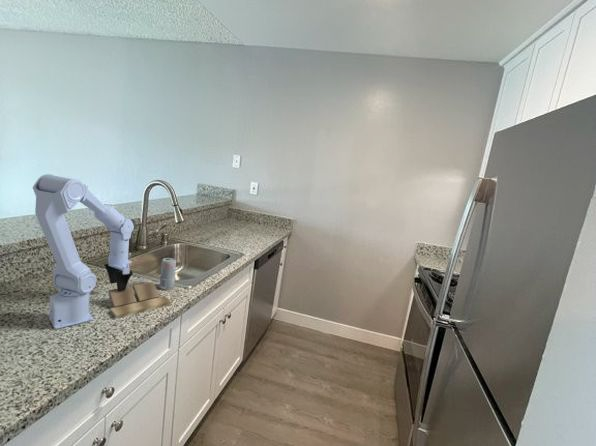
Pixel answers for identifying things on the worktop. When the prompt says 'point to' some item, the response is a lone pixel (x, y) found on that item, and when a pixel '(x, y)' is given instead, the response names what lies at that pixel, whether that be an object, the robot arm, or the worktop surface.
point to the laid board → (139, 307)
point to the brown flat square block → (122, 297)
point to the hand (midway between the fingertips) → (117, 286)
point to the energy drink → (168, 273)
